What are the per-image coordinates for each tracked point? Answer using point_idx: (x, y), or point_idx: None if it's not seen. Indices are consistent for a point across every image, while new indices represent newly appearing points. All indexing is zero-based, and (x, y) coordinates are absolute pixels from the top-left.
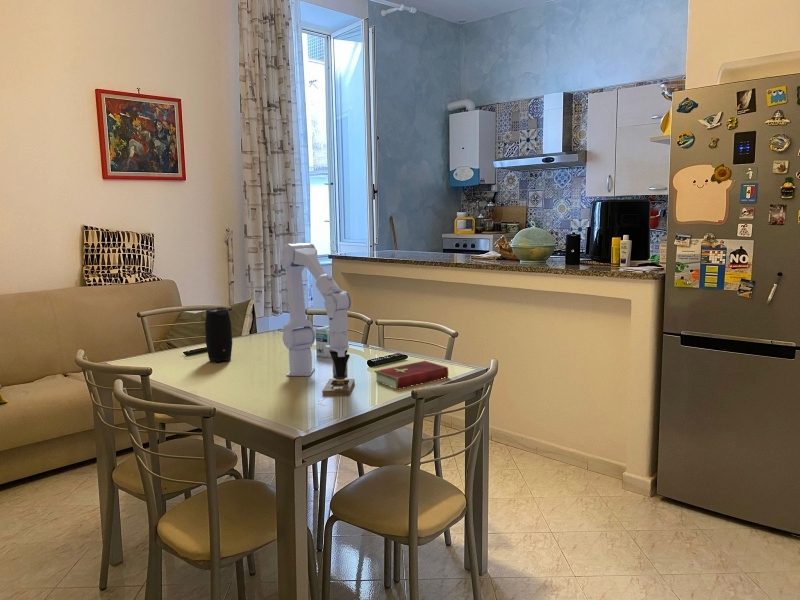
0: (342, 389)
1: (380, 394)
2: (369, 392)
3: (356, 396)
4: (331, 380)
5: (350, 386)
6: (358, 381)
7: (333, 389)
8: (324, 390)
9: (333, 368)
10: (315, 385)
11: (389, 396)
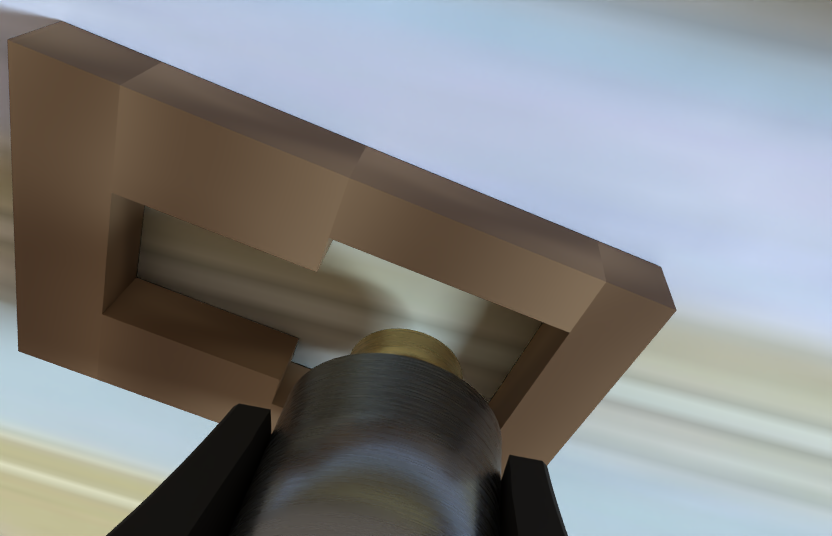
0: (74, 309)
1: (94, 509)
2: (159, 474)
3: (37, 360)
4: (568, 311)
5: (197, 410)
6: (564, 520)
7: (82, 214)
8: (30, 80)
9: (319, 499)
10: (694, 40)
11: (40, 531)
